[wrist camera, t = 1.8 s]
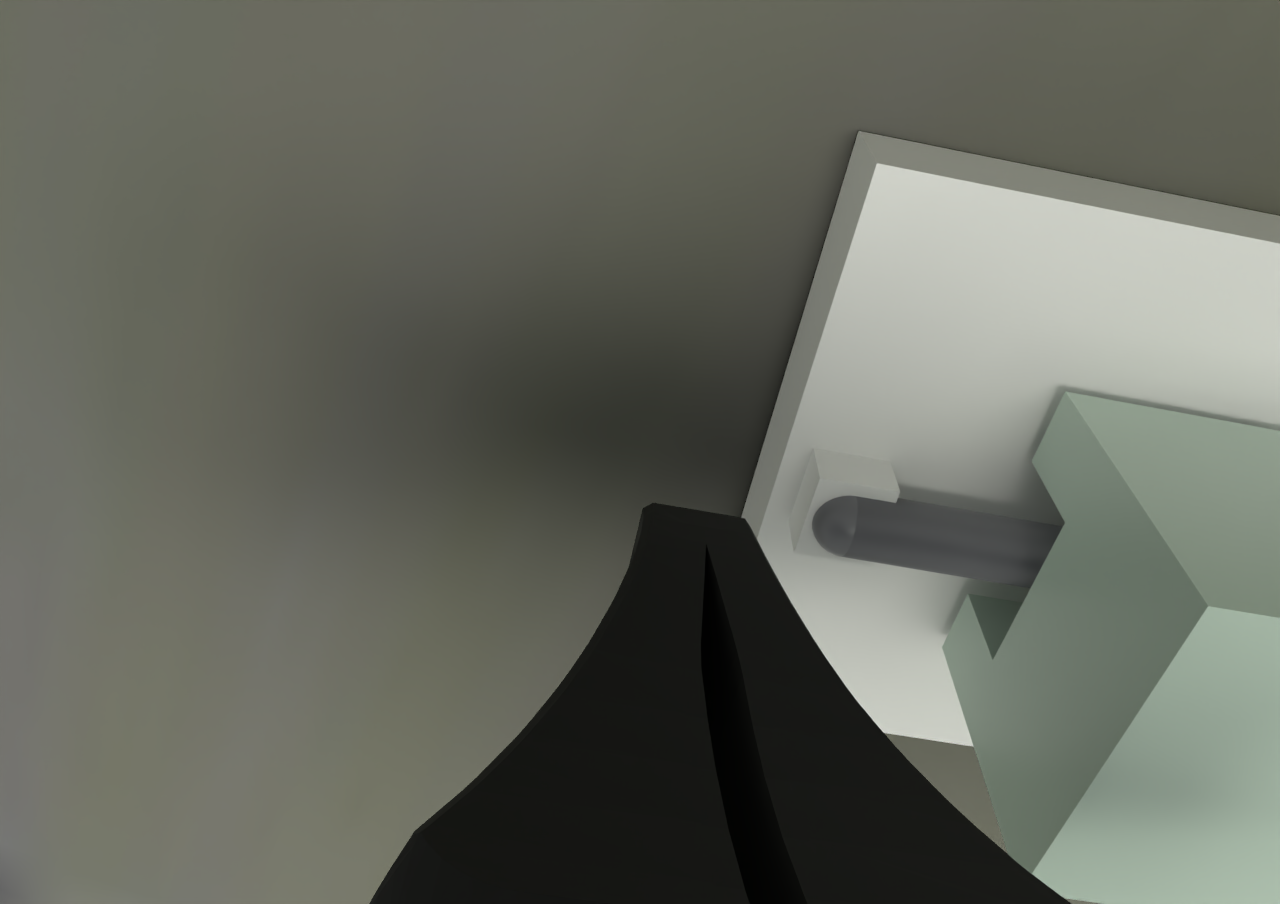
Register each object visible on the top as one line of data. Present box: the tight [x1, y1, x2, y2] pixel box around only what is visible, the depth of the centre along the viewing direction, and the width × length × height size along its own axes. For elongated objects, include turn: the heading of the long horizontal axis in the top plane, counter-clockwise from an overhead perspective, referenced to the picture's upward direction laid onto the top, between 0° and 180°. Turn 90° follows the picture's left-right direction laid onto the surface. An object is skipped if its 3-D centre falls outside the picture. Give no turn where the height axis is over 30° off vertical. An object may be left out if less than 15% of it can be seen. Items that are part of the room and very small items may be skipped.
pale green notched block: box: [942, 391, 1280, 904], centre depth 14 cm, size 4×5×4 cm
